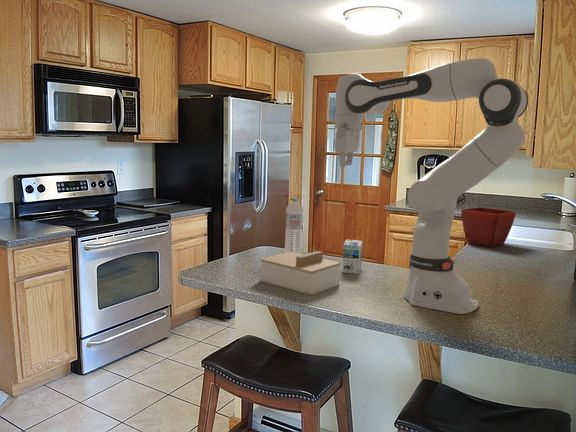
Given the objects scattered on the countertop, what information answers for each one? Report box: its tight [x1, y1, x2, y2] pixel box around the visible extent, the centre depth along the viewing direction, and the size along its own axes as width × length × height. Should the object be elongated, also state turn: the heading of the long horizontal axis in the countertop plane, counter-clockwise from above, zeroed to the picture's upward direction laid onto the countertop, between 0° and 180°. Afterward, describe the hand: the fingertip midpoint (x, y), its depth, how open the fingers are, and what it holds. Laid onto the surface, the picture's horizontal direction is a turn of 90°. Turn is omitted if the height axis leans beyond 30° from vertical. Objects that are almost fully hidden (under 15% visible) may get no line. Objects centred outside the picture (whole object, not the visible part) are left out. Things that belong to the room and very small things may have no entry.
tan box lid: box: [260, 250, 341, 274], centre depth 170 cm, size 22×16×4 cm
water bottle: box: [284, 197, 304, 254], centre depth 203 cm, size 7×7×25 cm
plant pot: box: [460, 206, 517, 248], centre depth 245 cm, size 19×19×17 cm
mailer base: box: [259, 260, 341, 296], centre depth 171 cm, size 22×16×7 cm
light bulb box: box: [341, 238, 364, 275], centre depth 190 cm, size 11×7×11 cm, turn 168°
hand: (345, 165), depth 169 cm, fingers open, 8 cm apart
